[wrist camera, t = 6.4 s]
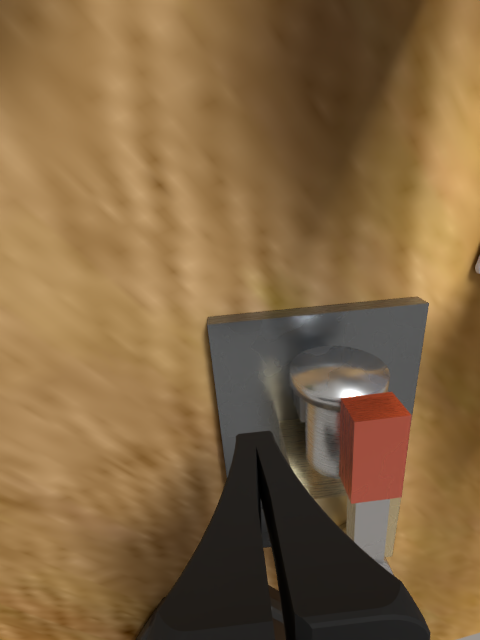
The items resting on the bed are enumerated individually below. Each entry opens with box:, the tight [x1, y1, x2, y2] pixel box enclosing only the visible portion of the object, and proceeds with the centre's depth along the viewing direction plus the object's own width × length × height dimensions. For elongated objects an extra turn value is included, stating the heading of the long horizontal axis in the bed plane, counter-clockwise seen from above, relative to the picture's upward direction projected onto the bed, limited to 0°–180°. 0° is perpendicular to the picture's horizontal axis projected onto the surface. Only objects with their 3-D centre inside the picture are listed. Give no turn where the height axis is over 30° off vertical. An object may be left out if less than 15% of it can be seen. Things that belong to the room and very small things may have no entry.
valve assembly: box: [207, 297, 429, 557], centre depth 20 cm, size 20×13×8 cm, turn 5°
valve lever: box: [339, 392, 412, 575], centre depth 14 cm, size 11×2×1 cm, turn 6°
